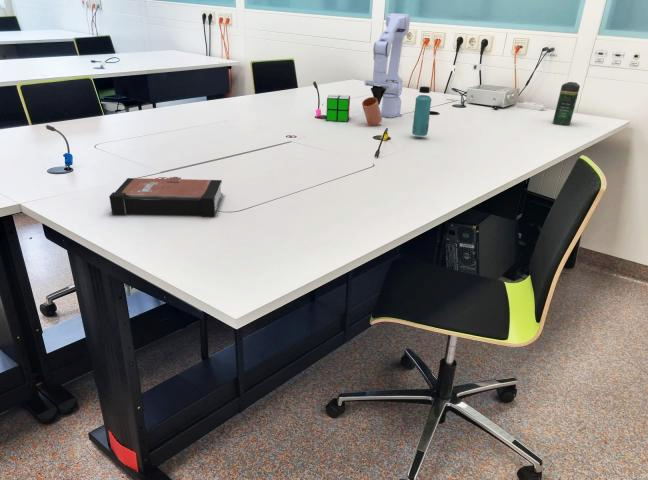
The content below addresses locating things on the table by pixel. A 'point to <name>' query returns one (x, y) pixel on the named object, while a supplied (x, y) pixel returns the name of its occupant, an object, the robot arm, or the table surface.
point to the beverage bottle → (422, 113)
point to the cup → (372, 111)
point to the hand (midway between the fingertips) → (377, 104)
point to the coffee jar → (566, 103)
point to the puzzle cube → (338, 108)
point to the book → (167, 197)
